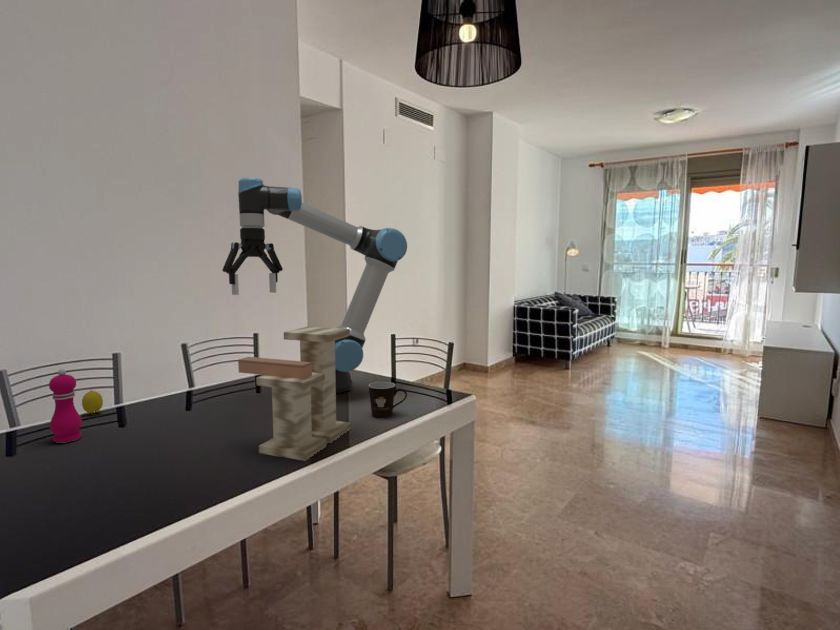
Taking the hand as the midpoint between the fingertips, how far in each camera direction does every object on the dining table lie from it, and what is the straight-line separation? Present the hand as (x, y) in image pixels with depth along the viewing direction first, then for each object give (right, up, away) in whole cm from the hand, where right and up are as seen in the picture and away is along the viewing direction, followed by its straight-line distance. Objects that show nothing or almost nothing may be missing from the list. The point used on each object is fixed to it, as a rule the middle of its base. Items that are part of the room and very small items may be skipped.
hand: (254, 293), depth 158 cm
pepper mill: (-44, -42, -24) cm, 65 cm away
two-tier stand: (+23, -42, -24) cm, 53 cm away
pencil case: (+16, -22, -31) cm, 42 cm away
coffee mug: (+43, -40, -3) cm, 59 cm away
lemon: (-51, -39, -2) cm, 65 cm away
